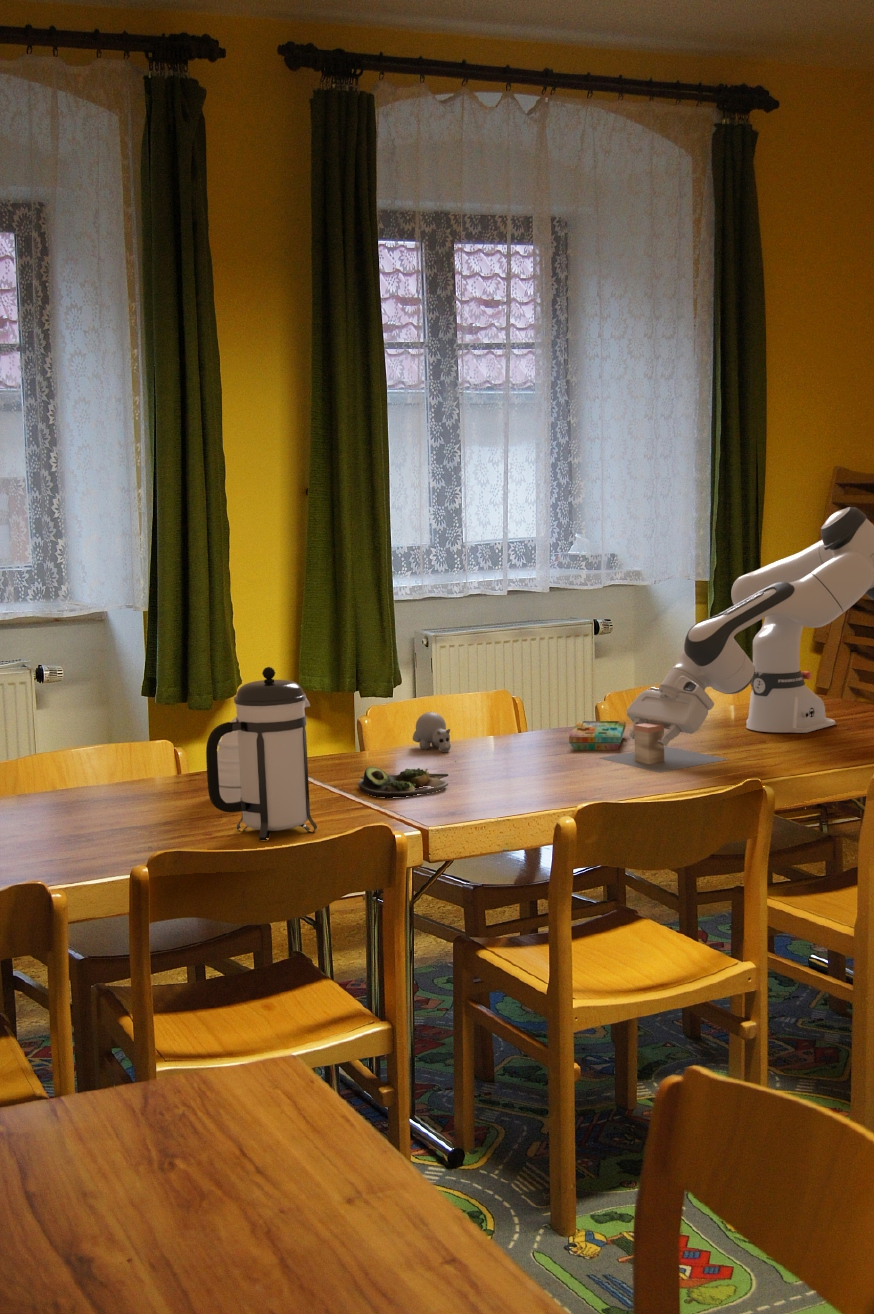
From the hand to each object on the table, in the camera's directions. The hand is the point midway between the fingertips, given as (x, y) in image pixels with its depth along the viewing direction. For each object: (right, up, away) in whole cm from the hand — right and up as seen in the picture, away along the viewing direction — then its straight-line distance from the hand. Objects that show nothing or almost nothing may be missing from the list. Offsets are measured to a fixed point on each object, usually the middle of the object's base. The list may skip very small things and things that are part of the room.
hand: (647, 740), depth 281 cm
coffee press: (-75, -14, -48) cm, 91 cm away
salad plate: (-53, -9, -16) cm, 56 cm away
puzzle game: (-7, -3, +24) cm, 26 cm away
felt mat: (+4, -4, +3) cm, 7 cm away
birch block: (+1, -5, +1) cm, 5 cm away
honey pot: (-85, -10, -19) cm, 87 cm away
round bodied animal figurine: (-46, -4, +24) cm, 52 cm away
